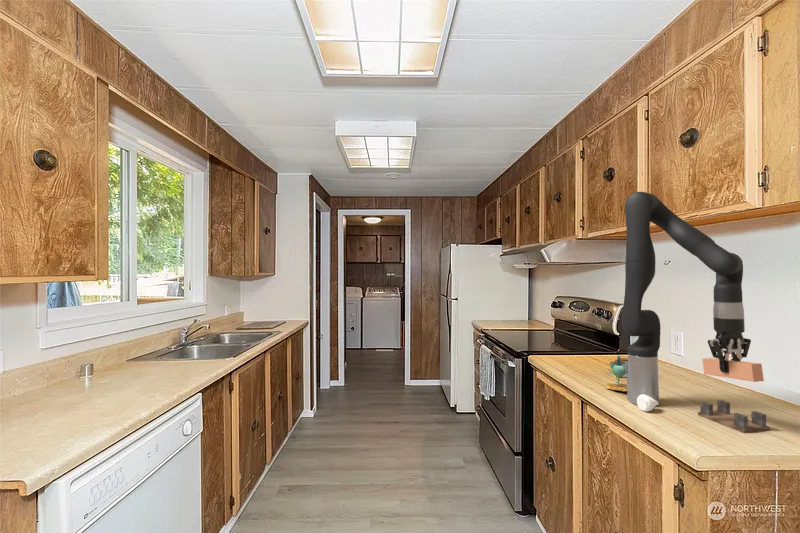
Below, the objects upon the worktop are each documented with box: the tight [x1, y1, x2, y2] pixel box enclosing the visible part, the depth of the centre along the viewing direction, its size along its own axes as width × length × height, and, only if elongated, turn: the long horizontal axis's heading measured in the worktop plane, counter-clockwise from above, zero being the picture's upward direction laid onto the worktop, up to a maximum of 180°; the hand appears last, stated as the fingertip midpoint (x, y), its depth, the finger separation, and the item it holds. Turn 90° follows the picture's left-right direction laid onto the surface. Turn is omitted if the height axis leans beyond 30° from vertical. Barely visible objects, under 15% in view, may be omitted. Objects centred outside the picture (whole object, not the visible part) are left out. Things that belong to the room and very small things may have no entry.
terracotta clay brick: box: [702, 357, 765, 383], centre depth 126 cm, size 4×16×5 cm, turn 10°
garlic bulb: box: [637, 394, 659, 413], centre depth 138 cm, size 6×6×6 cm
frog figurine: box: [605, 355, 629, 392], centre depth 162 cm, size 10×18×15 cm, turn 175°
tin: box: [612, 357, 629, 379], centre depth 179 cm, size 15×3×8 cm, turn 81°
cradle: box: [697, 399, 771, 434], centre depth 126 cm, size 15×9×4 cm, turn 10°
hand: (730, 371), depth 126 cm, fingers closed on terracotta clay brick, 3 cm apart
